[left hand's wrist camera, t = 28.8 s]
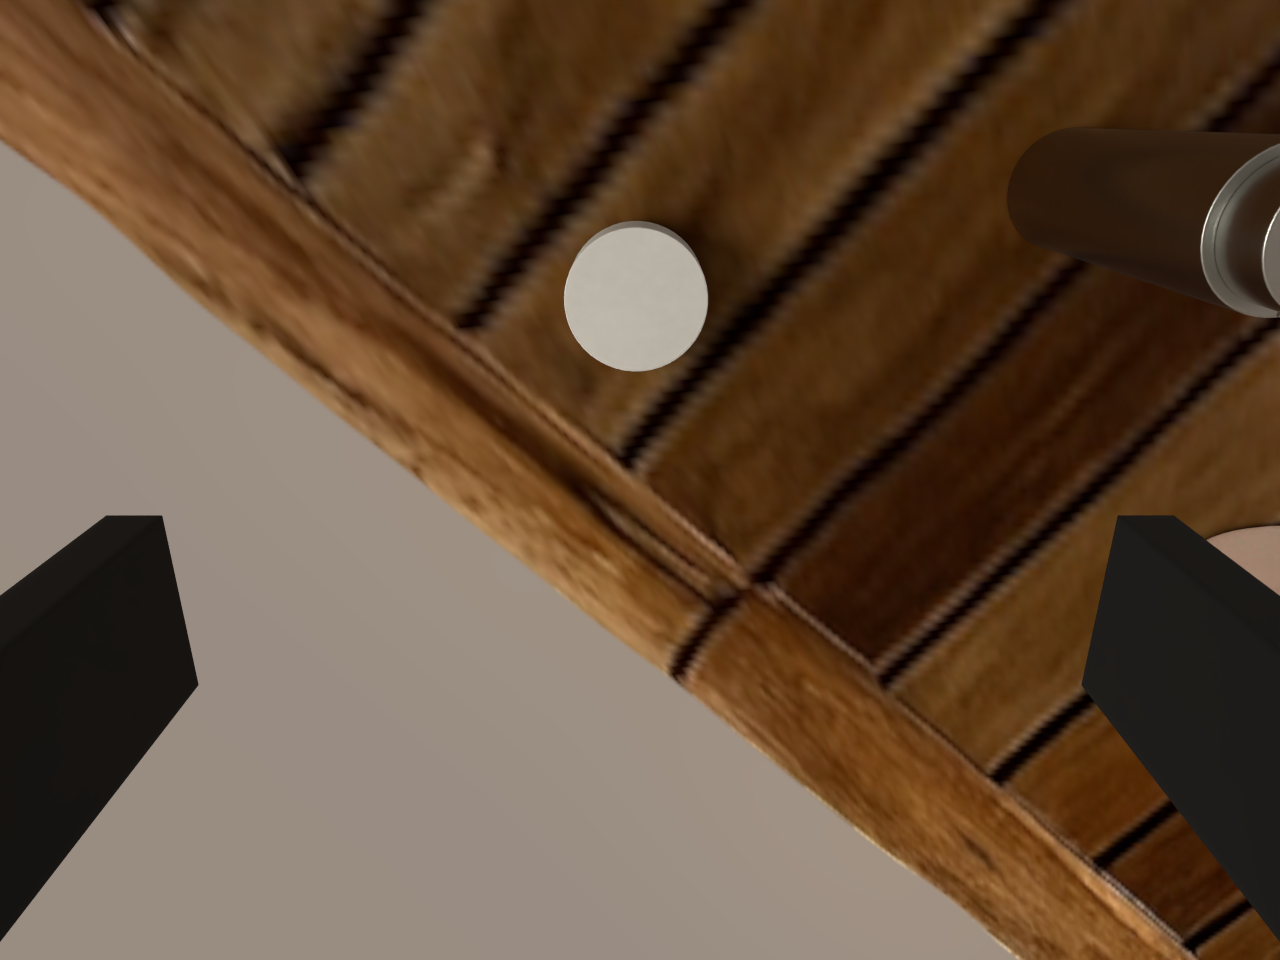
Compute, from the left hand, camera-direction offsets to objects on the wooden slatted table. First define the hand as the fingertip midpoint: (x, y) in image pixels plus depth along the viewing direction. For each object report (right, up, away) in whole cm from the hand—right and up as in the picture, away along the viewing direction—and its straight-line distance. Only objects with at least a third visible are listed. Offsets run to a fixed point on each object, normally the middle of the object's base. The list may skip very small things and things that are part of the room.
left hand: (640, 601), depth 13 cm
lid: (0, +9, +22) cm, 24 cm away
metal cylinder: (+17, +13, +23) cm, 31 cm away
